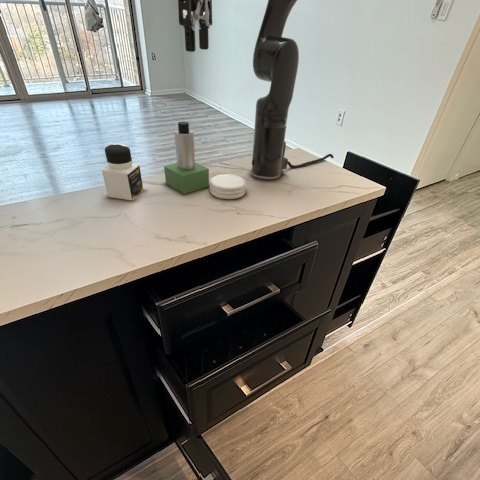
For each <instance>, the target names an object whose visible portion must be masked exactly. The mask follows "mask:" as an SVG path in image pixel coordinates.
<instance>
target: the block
mask: <svg viewBox="0 0 480 480" xmlns="http://www.w3.org/2000/svg"><path fill="white" fill-rule="evenodd" d="M163 170H164V171H163V172H164V179H165V185H168V186H169V187H171V188H173V189H174V190H176V191H178V192H179V193H181V194H183V195H187V194H189V193H193V192H196V191H199V190H203V189H205V188H210V169H209V168H208V167H206V166H204V165H201V164H199V163H197V162H195V169H193V170H189V171H184V170H180V169H178V168H177V162H175V163H171V164H167V165H164V166H163Z"/></svg>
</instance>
